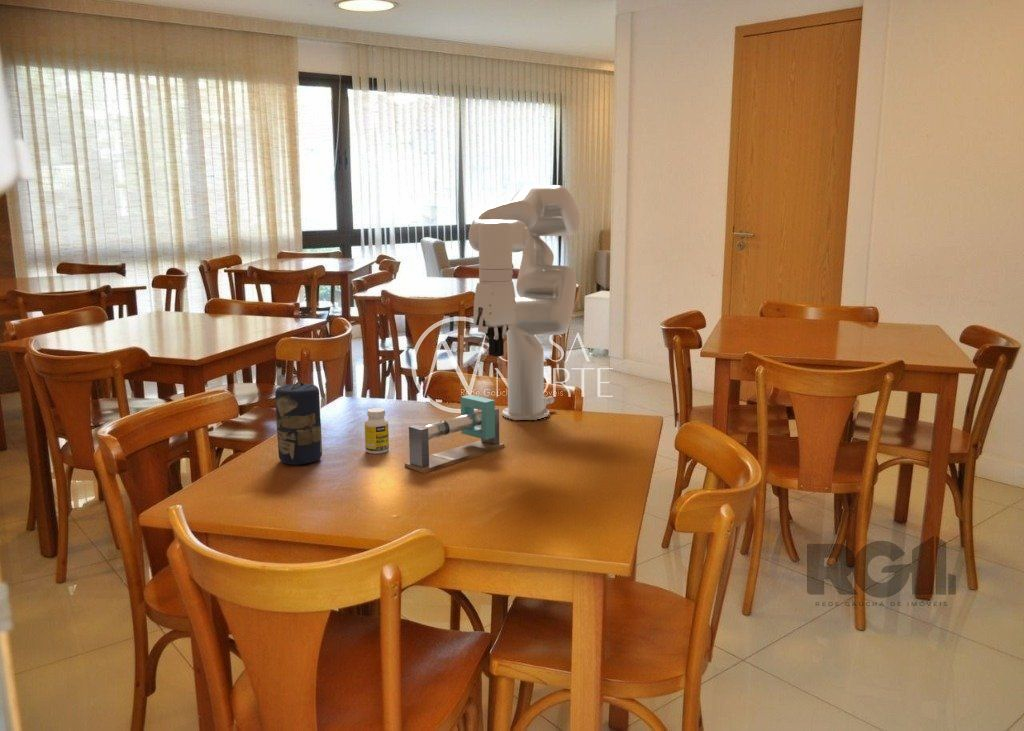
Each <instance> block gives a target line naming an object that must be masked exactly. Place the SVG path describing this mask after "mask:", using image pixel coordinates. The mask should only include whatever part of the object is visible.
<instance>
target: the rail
mask: <svg viewBox="0 0 1024 731" xmlns="http://www.w3.org/2000/svg"><path fill="white" fill-rule="evenodd" d="M479 426H480V428H482V412H481V410H478V411H474V412H473V413H469V414H466V415H462V416H461V415H459V416H455V417H451V418H447V419H443V420H440V421H437V422H433V423H430V424H426V425H425V424H424V425H419V424H414V425H410V426H408V442H409V443H408V444H409V448H408V449H409V462H410V464H412V465H415V466H418V467H421V468H424V467H427V466H429V456H430V452H429V451H430V447H429V446H430V445H429V440H433V439H436V438H440V437H443V436H447V435H451V434H454V433H457V432H461V430H465V429H468V428H472V427H479ZM480 440H481V442H483V443H487V444H491V445H496V444H499V442H500V409H499V408H498V407H495V437H494V438H490V439H487V440H485V439H481V438H480Z"/></svg>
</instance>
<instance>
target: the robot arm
mask: <svg viewBox="0 0 1024 731" xmlns="http://www.w3.org/2000/svg"><path fill="white" fill-rule="evenodd" d="M580 222H581V221H580V213H579V210H578V207H577V205H576V203H575V201H574V198H573V196H572V194H571V192H570V191H569V190H568V188H566V187H565V186H564V185H560V184H539V185H538V184H531V185H526V186H523V187H522V188H520V189H519V190H518V191H517V193H516V194H515V195H514V196H513V197H512V198H511V200H510V201H509V202H504V203H502V204H500V205H497V206H494V207H491V208H487V209H485V210H483V211H481V212H480V213H479V214H478V215H477V216H476V217H475V218H474V220H473V221H472V223H471V224H470V226H469V230H468V242H469V245H470V247H471V248H472V249H473V250H474V251H476V252H478V271H479V272H478V276H479V277H478V280H479V282H477V283H476V287H475V290H474V300H473V323H474V325H475V326H478V327H477V332H478V333H481V334H484V335H485V336H486V339H488V354H489V355H488V356H491V357H496V358H498V357H503V356H504V355H505V353H504V352H505V351H504V350H505V349H504V347H505V346H504V343H505V342H504V339H506V343H507V345H506V346H507V347H506V348H507V407H505V408H504V409H503V410H501V411H502V412H501V414H502V415H503V416H504V417H503V416H502V417H503V418H505V417H506V418H505V419H507V418H509V419H508V420H510V419H514V420H513V421H516V420H535V421H538V420H537V419H541V418H543V417H546V416H547V415H548V414H549V415H550V410H549V409H548V408H547V407H546V406H547V405H550V404H553V403H554V402H555V397H554V396H553V395H551V396H550V395H549V396H547V397H546V396H544V390H545V388H544V385H545V384H544V382H545V380H544V376H545V375H544V369H545V368H544V366H545V364H544V359H545V354H544V348H543V346H542V344H541V342H540V341H539V339H538V338H537V336H536V335H545V336H546V335H547V336H548V335H550V336H561V335H564V334H566V333H567V331H568V330H569V329H570V326H571V321H572V317H573V316H572V314H573V311H574V310H573V309H574V304H575V299H576V292H577V276H576V273H575V270H574V269H573V268H572V267H570V266H568V265H561V264H560V265H559V264H558V265H555V264H554V259H555V256H554V252H553V251H552V249H551V248H550V246H549V245H548V244H547V243H546V241H544V240H543V239H542V238H541V237H545V236H546V237H570V236H573V235H575V234H576V233H577V232H578V230H579V227H580ZM540 236H541V237H540ZM520 252H522V258H521V262H520V265H519V271H518V274H517V280H516V287H515V285H514V281H513V275H514V270H513V253H520ZM515 288H516V292H517V295H518V297H516V292H515ZM541 420H542V419H541Z"/></svg>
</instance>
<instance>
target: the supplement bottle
mask: <svg viewBox="0 0 1024 731" xmlns="http://www.w3.org/2000/svg"><path fill="white" fill-rule="evenodd" d="M366 411H367V413H366V414H367V418H366V419H365V420H364V445H365V446H364V447H365V451H366V453H368V454H374V455H379V454H385V453H387V452H388V451H389V449H390V440H389V439H390V437H389V420H388V419H387V418H386V417H385V416H386V409H385V408H382V407H373V408H369V409H367V410H366Z"/></svg>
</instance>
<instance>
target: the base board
mask: <svg viewBox="0 0 1024 731" xmlns="http://www.w3.org/2000/svg"><path fill="white" fill-rule="evenodd" d="M503 448H506V447H505V443H502V442H500V441H499V444H496V445H491V444H487V443H483V442H481V439H480V440H476V441H474V442H469V443H466V444H464V445H461V446H457V447H453V448H450V449H447V450H443V451H441V452H438V453H436V452H435V453H433V454H431V455H430V454H429V466H427V467H424V468H421V467H418V466H415V465H412V464H410V461H408V462H407V461H406V462H404V467H405V468H407V469H409V470H414V471H417V472H419V473H422V474H427V473H429V472H432V471H435V470H438V469H441V468H445V467H447V466H451V465H454V464H457V463H461V462H463V461H466V460H469V459H474V458H475V457H479V456H482V455H485V454H487V453H490V452H495V451H497V450H499V449H503Z"/></svg>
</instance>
